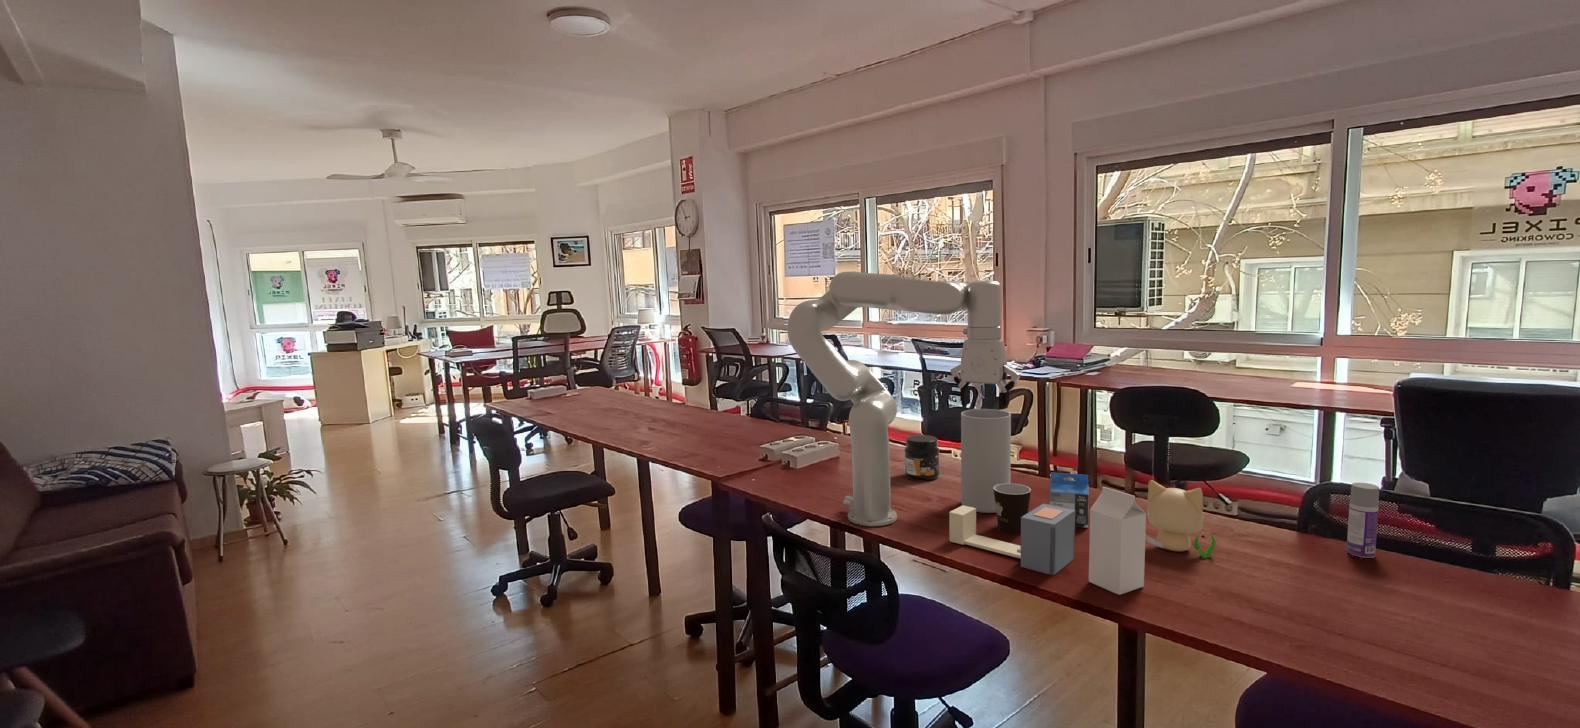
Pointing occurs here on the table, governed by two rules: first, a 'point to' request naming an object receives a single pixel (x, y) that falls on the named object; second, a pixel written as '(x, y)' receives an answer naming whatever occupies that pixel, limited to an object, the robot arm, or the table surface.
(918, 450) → the supplement container
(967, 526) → the cream l-shaped bracket
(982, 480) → the cylinder vase
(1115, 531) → the milk carton
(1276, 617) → the table surface
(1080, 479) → the label tape box
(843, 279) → the robot arm
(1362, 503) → the container
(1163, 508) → the kitten
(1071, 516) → the block
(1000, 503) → the coffee mug
